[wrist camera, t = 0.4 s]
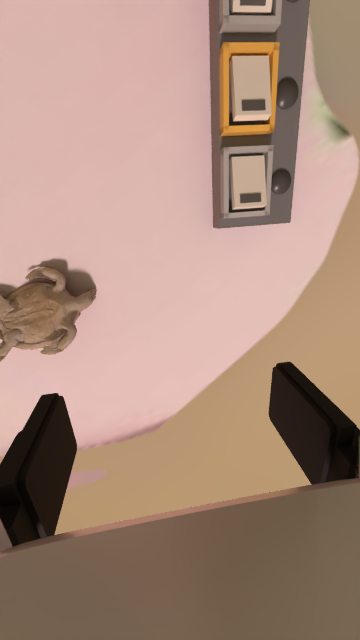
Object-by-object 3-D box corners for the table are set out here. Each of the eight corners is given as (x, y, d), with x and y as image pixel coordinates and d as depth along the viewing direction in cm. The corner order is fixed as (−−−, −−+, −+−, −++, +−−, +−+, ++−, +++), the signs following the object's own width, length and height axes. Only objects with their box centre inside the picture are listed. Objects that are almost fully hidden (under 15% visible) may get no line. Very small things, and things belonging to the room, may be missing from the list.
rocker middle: (229, 64, 28) (232, 55, 27) (264, 63, 28) (269, 54, 27) (232, 121, 29) (236, 114, 27) (267, 119, 29) (272, 113, 28)
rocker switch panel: (207, -64, 26) (220, -116, 22) (299, -60, 27) (328, -109, 23) (213, 227, 37) (222, 228, 33) (279, 222, 38) (296, 222, 34)
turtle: (25, 339, 42) (17, 388, 35) (-37, 307, 36) (-62, 358, 29) (97, 282, 40) (104, 321, 33) (44, 236, 34) (39, 272, 27)
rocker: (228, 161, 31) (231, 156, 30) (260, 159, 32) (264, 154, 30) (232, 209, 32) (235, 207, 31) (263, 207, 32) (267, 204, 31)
